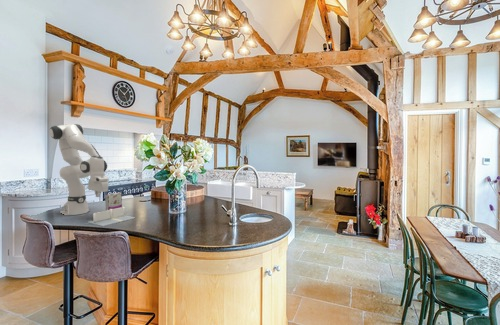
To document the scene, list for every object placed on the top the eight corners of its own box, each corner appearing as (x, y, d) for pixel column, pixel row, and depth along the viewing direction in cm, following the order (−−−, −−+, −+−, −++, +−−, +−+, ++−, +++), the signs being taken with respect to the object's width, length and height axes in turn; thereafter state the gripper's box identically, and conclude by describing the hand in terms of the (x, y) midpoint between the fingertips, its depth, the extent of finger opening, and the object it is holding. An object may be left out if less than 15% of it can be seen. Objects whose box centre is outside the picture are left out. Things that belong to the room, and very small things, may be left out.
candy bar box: (119, 211, 213) (118, 192, 213) (122, 212, 211) (122, 192, 210) (105, 214, 204) (104, 194, 203) (108, 215, 201) (108, 194, 201)
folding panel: (92, 221, 180) (92, 213, 180) (108, 218, 190) (108, 210, 190) (94, 221, 179) (94, 213, 179) (110, 218, 189) (109, 210, 189)
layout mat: (87, 222, 181) (87, 221, 181) (120, 215, 203) (120, 214, 203) (103, 226, 172) (103, 225, 172) (135, 218, 194) (135, 217, 194)
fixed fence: (109, 218, 191) (109, 209, 190) (123, 215, 201) (123, 206, 200) (110, 218, 190) (110, 209, 189) (125, 215, 200) (125, 206, 199)
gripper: (85, 177, 190) (85, 196, 190) (101, 179, 180) (101, 198, 180) (94, 177, 195) (94, 195, 196) (110, 178, 185) (110, 197, 186)
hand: (98, 196), depth 188 cm, fingers closed
